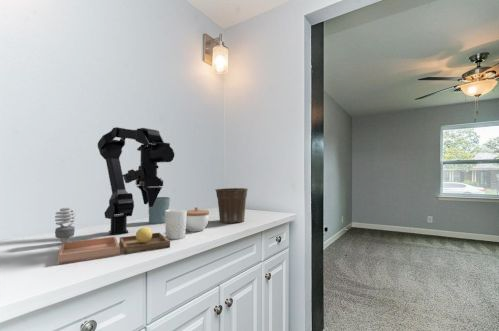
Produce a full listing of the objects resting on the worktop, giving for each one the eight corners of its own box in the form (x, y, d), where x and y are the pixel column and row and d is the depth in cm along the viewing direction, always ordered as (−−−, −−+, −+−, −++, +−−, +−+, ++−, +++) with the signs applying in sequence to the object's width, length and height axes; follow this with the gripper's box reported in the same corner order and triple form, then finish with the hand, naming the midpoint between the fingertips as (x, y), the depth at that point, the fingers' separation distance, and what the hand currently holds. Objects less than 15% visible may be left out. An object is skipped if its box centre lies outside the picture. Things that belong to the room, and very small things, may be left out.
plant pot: (210, 223, 120) (210, 189, 121) (221, 218, 136) (221, 187, 136) (243, 225, 117) (243, 190, 117) (251, 219, 132) (250, 188, 133)
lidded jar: (181, 228, 109) (181, 206, 110) (205, 226, 114) (205, 205, 114) (185, 233, 100) (185, 209, 100) (212, 231, 104) (212, 208, 104)
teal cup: (143, 223, 122) (143, 198, 122) (160, 219, 131) (160, 196, 131) (157, 225, 117) (157, 199, 117) (174, 221, 125) (174, 197, 126)
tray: (119, 243, 86) (119, 237, 86) (159, 238, 93) (159, 232, 93) (125, 254, 74) (125, 247, 74) (170, 247, 81) (170, 240, 81)
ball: (134, 242, 84) (134, 227, 84) (150, 240, 87) (150, 225, 87) (137, 245, 80) (137, 229, 80) (153, 243, 83) (153, 227, 83)
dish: (62, 250, 77) (62, 242, 77) (114, 243, 85) (114, 236, 85) (58, 264, 65) (58, 255, 65) (119, 255, 73) (119, 246, 73)
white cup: (180, 240, 89) (180, 212, 90) (160, 239, 91) (160, 211, 91) (190, 235, 97) (190, 209, 97) (171, 234, 99) (171, 208, 99)
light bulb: (78, 242, 87) (79, 207, 88) (62, 246, 82) (63, 209, 82) (67, 240, 89) (68, 206, 90) (50, 244, 84) (51, 208, 84)
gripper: (121, 163, 97) (120, 204, 96) (128, 161, 81) (127, 210, 81) (152, 163, 103) (151, 202, 102) (163, 162, 87) (163, 207, 87)
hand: (148, 205), depth 93 cm, fingers open, 9 cm apart
